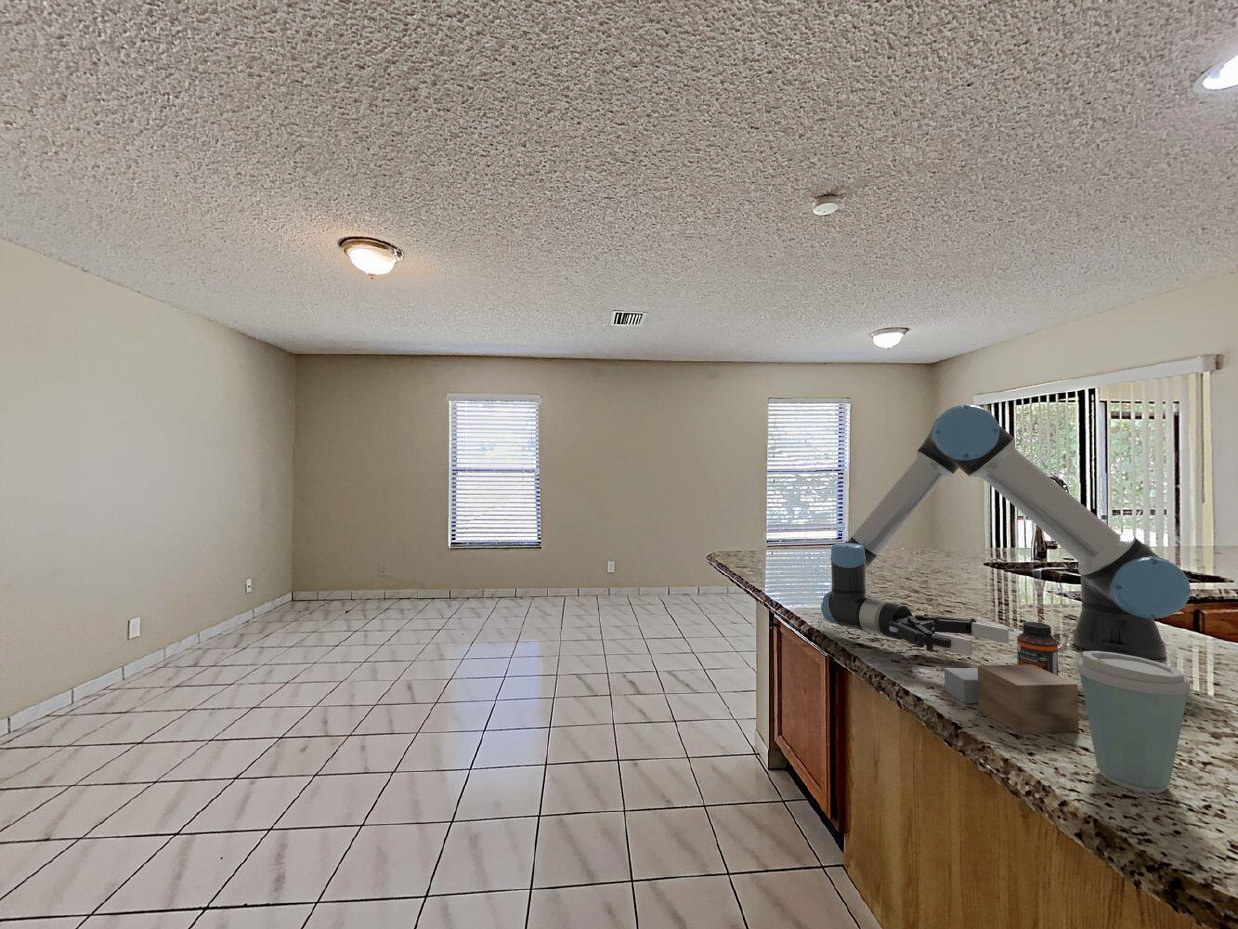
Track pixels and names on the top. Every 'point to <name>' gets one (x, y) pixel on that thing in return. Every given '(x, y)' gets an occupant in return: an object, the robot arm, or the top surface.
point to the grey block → (962, 683)
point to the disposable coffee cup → (1133, 717)
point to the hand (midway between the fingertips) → (990, 641)
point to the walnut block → (1028, 698)
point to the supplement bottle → (1037, 647)
